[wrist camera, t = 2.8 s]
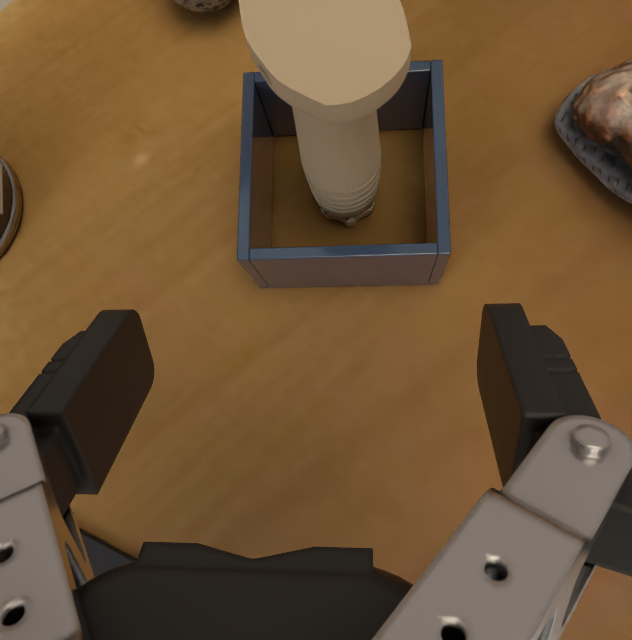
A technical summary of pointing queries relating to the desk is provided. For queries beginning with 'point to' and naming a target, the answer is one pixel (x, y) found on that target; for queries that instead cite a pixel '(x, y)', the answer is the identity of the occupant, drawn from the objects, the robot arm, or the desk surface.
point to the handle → (333, 87)
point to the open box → (353, 260)
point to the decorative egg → (203, 5)
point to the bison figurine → (602, 127)
